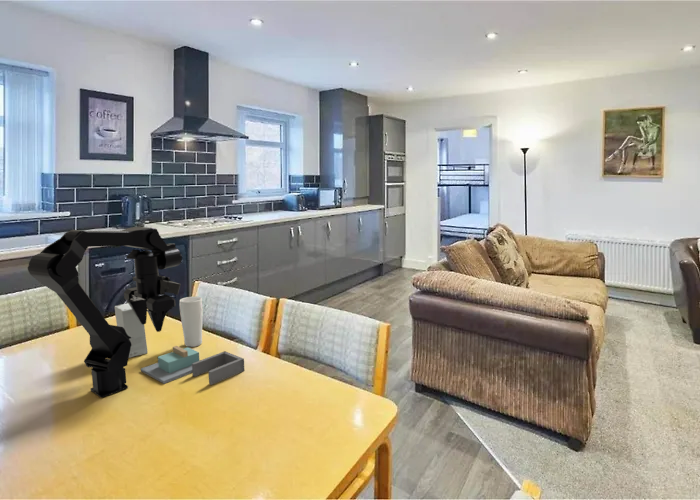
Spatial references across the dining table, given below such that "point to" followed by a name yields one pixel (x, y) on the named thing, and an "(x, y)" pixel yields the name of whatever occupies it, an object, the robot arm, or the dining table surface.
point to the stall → (219, 366)
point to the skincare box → (132, 329)
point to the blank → (178, 359)
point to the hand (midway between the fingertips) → (151, 327)
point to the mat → (165, 373)
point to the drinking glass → (191, 320)
